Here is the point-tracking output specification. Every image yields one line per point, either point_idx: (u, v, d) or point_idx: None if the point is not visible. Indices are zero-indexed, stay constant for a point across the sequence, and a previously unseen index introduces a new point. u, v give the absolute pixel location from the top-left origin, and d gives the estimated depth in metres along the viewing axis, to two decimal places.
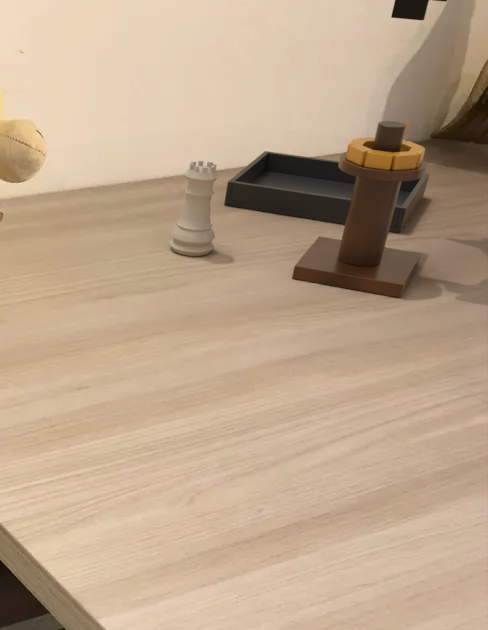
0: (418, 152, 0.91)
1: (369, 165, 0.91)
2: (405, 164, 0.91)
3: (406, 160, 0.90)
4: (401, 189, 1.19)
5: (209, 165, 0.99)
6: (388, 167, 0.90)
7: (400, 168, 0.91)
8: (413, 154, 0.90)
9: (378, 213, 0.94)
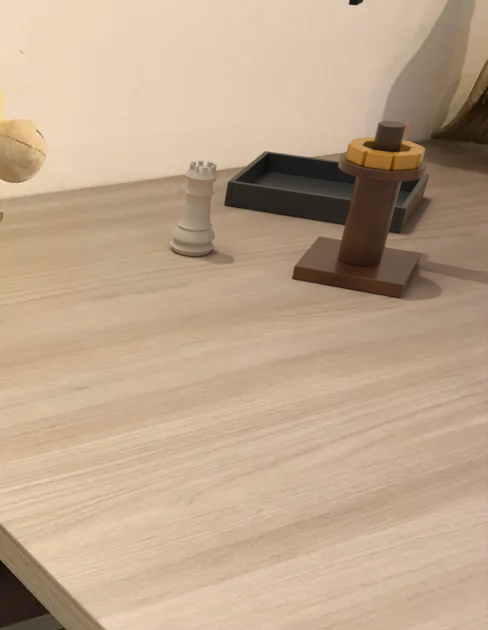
0: (418, 152, 0.91)
1: (369, 165, 0.91)
2: (405, 164, 0.91)
3: (406, 160, 0.90)
4: (401, 189, 1.19)
5: (209, 165, 0.99)
6: (388, 167, 0.90)
7: (400, 168, 0.91)
8: (413, 154, 0.90)
9: (378, 213, 0.94)
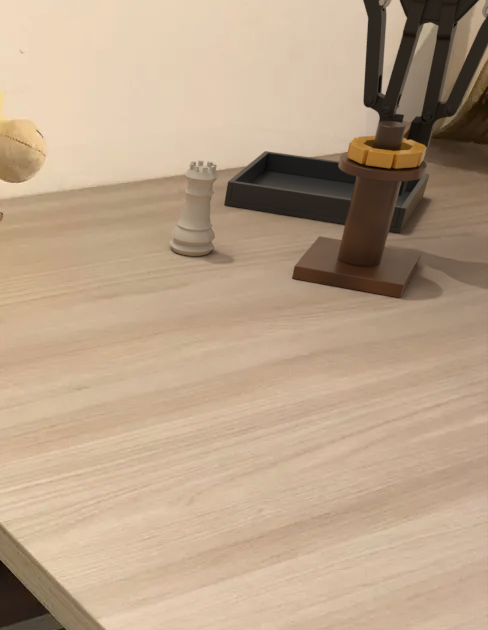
0: (419, 150, 0.91)
1: (370, 163, 0.91)
2: (406, 162, 0.90)
3: (407, 158, 0.90)
4: None
5: (209, 165, 0.99)
6: (389, 165, 0.90)
7: (401, 166, 0.90)
8: (414, 152, 0.90)
9: (378, 213, 0.94)
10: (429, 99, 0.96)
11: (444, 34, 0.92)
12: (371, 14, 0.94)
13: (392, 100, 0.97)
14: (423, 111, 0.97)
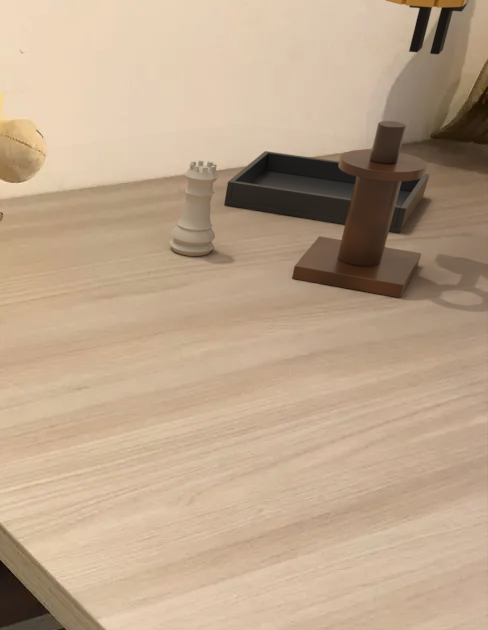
0: None
1: (411, 3, 0.84)
2: (450, 0, 0.84)
3: None
4: (401, 189, 1.19)
5: (209, 165, 0.99)
6: (432, 4, 0.84)
7: (444, 5, 0.84)
8: None
9: (378, 213, 0.94)
10: None
11: None
12: None
13: None
14: None
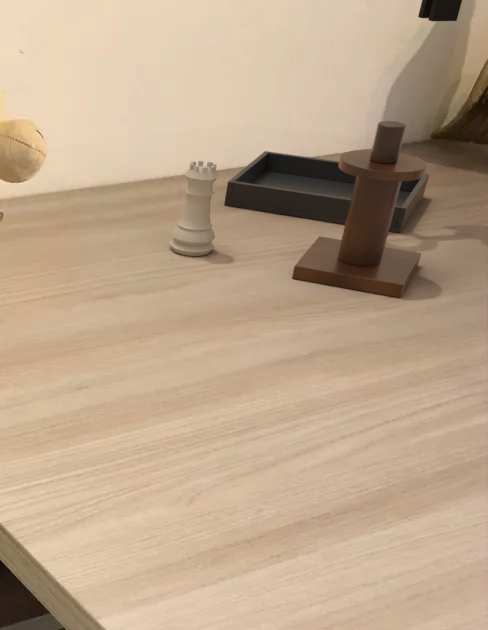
0: None
1: None
2: None
3: None
4: (401, 189, 1.19)
5: (209, 165, 0.99)
6: None
7: None
8: None
9: (378, 213, 0.94)
10: None
11: None
12: None
13: None
14: None
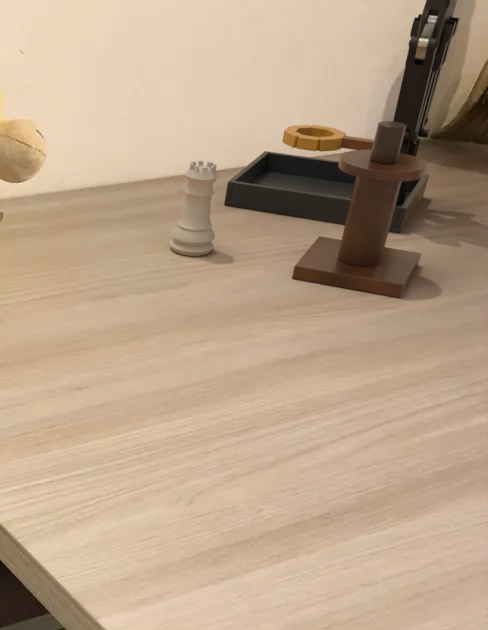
0: (301, 136, 1.12)
1: None
2: (288, 140, 1.14)
3: (288, 137, 1.14)
4: None
5: (209, 165, 0.99)
6: None
7: (285, 142, 1.14)
8: (294, 135, 1.13)
9: (378, 213, 0.94)
10: None
11: (406, 63, 1.05)
12: None
13: None
14: None
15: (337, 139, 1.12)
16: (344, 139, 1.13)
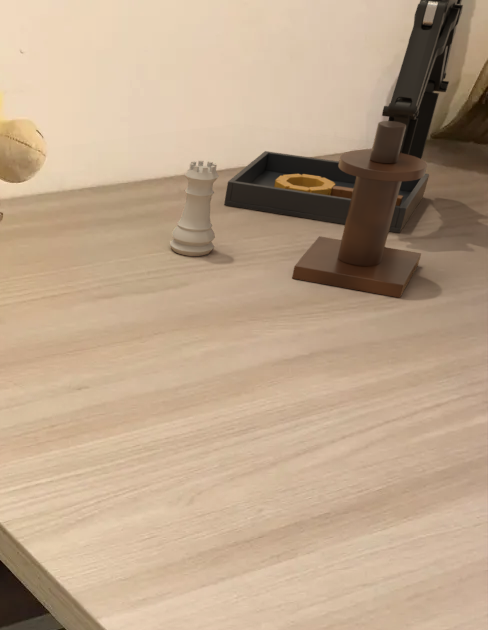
0: (292, 186, 1.16)
1: None
2: None
3: (279, 187, 1.17)
4: (401, 189, 1.19)
5: (209, 165, 0.99)
6: None
7: None
8: (284, 185, 1.16)
9: (378, 213, 0.94)
10: None
11: None
12: None
13: None
14: None
15: (326, 189, 1.15)
16: (333, 189, 1.16)
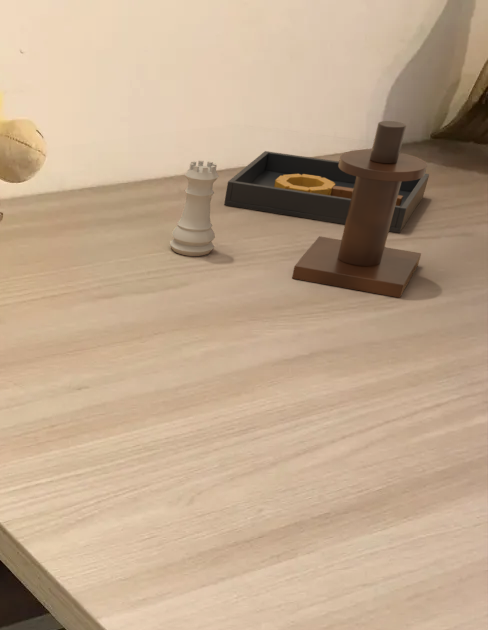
0: (292, 186, 1.16)
1: None
2: None
3: (279, 187, 1.17)
4: (401, 189, 1.19)
5: (209, 165, 0.99)
6: None
7: None
8: (284, 185, 1.16)
9: (378, 213, 0.94)
10: None
11: None
12: None
13: None
14: None
15: (326, 189, 1.15)
16: (333, 189, 1.16)
